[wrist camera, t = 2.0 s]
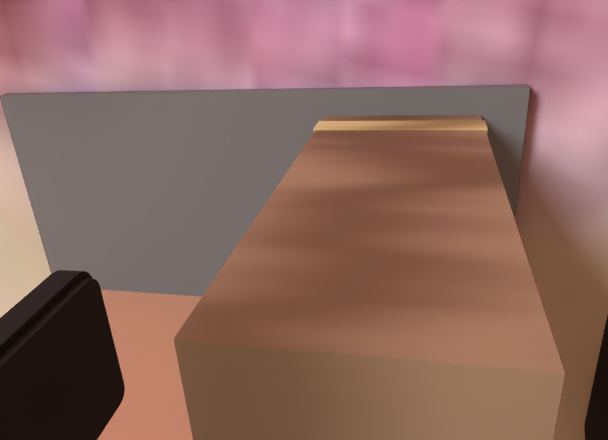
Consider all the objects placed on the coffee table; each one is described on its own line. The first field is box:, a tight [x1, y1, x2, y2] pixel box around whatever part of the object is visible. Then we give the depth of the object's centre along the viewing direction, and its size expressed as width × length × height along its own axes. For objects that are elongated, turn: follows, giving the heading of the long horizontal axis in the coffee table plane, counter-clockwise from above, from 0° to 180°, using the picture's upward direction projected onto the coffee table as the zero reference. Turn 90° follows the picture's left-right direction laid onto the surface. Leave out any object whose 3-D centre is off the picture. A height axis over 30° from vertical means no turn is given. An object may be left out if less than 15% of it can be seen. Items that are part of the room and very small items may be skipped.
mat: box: [0, 85, 530, 297], centre depth 20 cm, size 17×17×1 cm
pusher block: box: [174, 115, 565, 440], centre depth 12 cm, size 5×5×11 cm
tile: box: [97, 290, 202, 440], centre depth 17 cm, size 10×2×8 cm, turn 93°
